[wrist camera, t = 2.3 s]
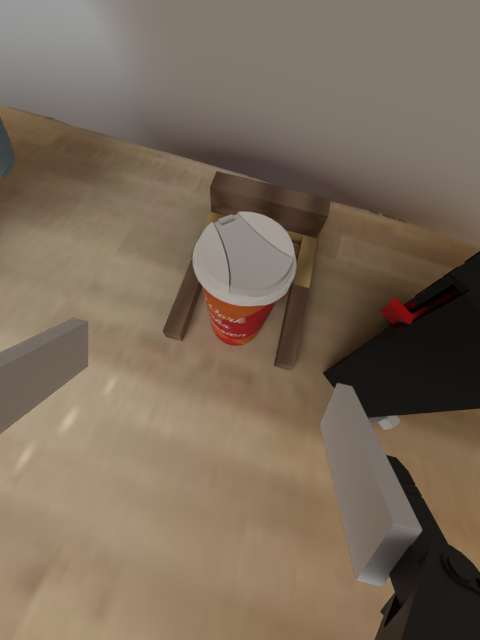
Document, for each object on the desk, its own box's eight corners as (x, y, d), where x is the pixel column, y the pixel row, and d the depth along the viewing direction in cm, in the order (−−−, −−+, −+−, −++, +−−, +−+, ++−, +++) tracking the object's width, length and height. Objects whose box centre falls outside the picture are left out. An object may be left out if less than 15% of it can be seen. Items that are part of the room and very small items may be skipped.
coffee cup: (191, 310, 34) (172, 227, 20) (247, 285, 36) (265, 193, 22) (222, 368, 31) (224, 318, 17) (280, 337, 33) (324, 270, 19)
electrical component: (370, 436, 29) (622, 447, 11) (313, 360, 32) (436, 267, 14) (466, 355, 34) (758, 266, 16) (409, 295, 37) (597, 160, 18)
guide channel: (165, 336, 32) (154, 317, 27) (217, 206, 41) (216, 171, 35) (290, 370, 32) (305, 357, 26) (315, 231, 40) (331, 199, 35)
